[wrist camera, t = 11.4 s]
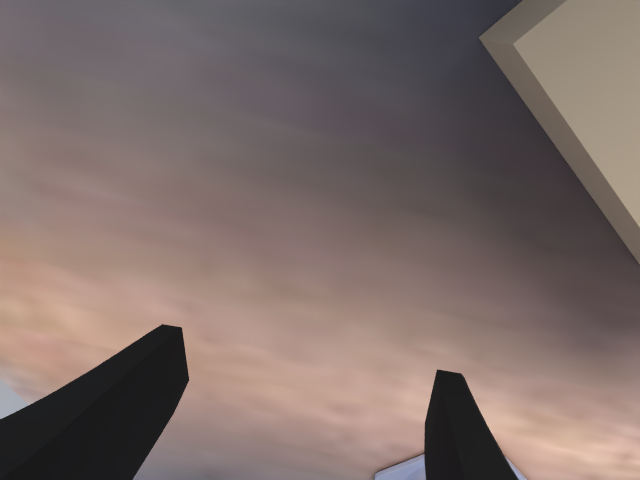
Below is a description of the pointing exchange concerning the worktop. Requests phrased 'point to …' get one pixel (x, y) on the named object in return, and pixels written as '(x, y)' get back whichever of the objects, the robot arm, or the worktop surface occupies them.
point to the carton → (582, 92)
